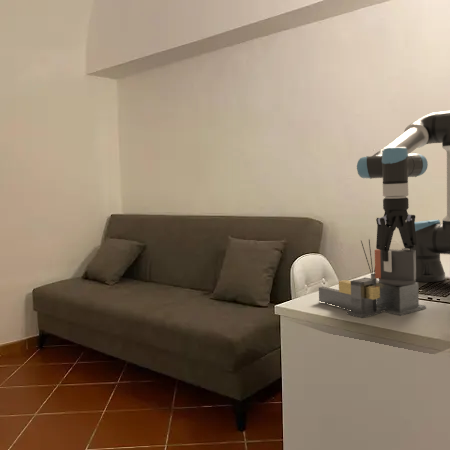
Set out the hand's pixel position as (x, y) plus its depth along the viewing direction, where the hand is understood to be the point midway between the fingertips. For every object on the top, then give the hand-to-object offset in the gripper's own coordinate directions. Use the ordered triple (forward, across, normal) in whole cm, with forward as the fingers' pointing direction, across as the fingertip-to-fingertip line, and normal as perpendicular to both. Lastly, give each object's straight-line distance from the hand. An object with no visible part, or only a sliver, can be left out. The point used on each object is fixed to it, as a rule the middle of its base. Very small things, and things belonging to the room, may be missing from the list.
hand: (397, 269), depth 158 cm
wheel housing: (+12, 0, 0) cm, 12 cm away
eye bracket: (+12, +14, -9) cm, 21 cm away
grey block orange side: (+4, 0, 0) cm, 4 cm away
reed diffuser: (+13, -6, -17) cm, 22 cm away
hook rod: (+7, +13, -3) cm, 15 cm away
